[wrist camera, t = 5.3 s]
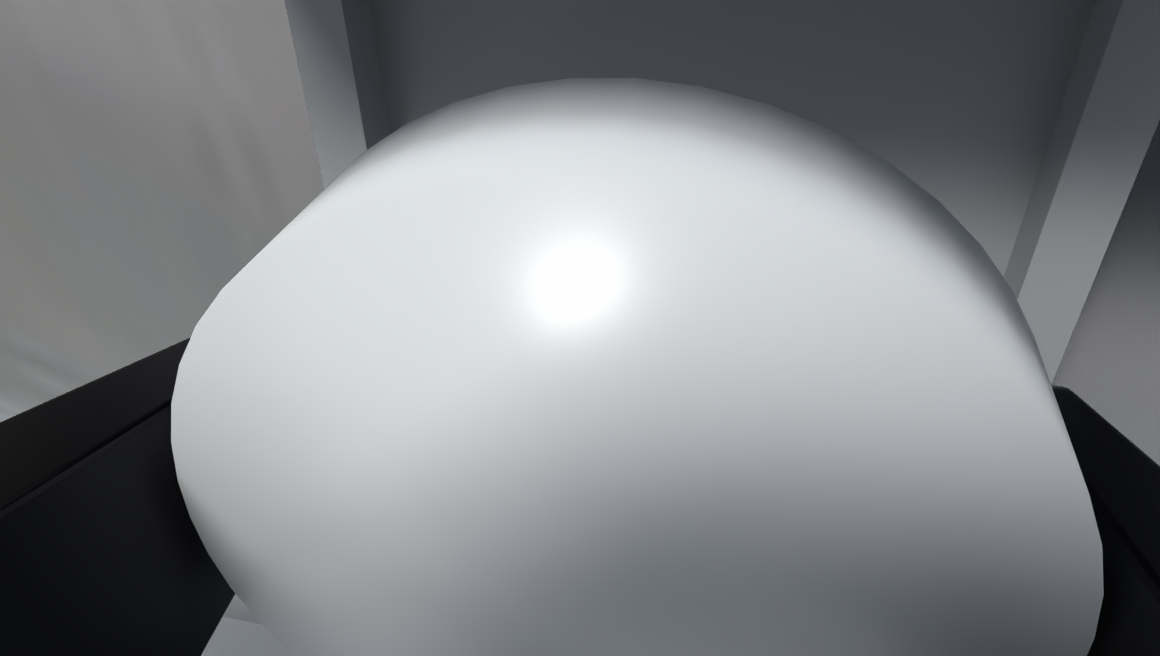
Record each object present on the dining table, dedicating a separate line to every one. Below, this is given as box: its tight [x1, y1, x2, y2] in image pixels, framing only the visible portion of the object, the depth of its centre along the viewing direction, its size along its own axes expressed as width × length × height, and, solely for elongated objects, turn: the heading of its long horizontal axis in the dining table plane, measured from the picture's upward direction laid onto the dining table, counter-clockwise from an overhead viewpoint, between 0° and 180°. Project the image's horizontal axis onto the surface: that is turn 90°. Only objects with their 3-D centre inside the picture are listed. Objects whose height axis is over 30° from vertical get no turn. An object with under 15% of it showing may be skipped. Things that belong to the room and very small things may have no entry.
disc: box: [171, 78, 1104, 656], centre depth 7 cm, size 7×7×2 cm
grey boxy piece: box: [203, 0, 1160, 656], centre depth 11 cm, size 12×11×6 cm
